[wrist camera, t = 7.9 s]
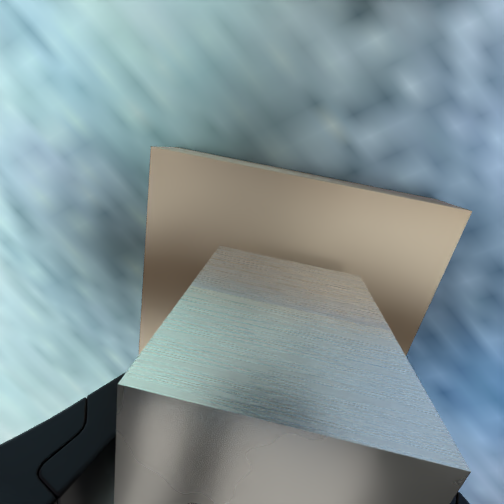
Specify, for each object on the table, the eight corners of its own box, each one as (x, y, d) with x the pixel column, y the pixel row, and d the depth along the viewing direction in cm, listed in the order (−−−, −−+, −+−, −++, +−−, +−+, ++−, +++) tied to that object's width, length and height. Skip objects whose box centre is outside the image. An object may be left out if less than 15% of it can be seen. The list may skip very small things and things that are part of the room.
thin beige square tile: (354, 400, 16) (365, 443, 13) (158, 352, 16) (136, 386, 14) (436, 199, 12) (472, 211, 10) (177, 147, 12) (151, 146, 10)
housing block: (312, 414, 11) (335, 675, 6) (197, 386, 12) (110, 610, 6) (360, 276, 9) (471, 471, 4) (219, 245, 9) (117, 384, 4)
